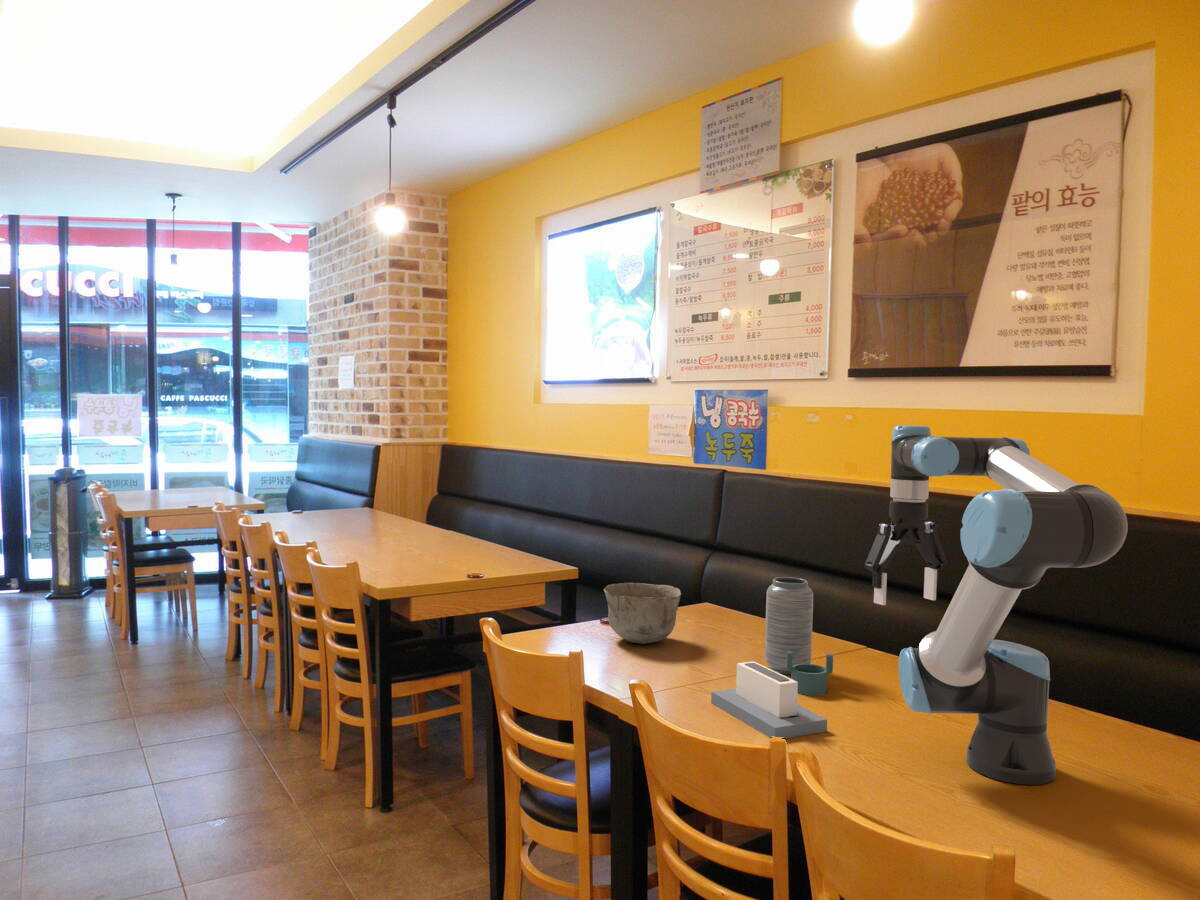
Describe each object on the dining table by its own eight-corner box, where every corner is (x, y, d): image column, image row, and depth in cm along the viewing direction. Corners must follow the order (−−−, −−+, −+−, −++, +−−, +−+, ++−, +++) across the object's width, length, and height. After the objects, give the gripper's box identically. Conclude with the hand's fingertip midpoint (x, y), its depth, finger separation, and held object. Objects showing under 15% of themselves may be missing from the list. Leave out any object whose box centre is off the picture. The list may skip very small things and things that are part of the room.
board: (826, 731, 181) (827, 719, 181) (774, 740, 176) (775, 727, 176) (759, 696, 203) (759, 685, 203) (711, 702, 198) (711, 691, 198)
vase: (795, 661, 232) (798, 575, 231) (819, 674, 221) (822, 583, 220) (756, 664, 228) (758, 576, 227) (778, 677, 217) (781, 585, 216)
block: (796, 724, 184) (797, 680, 183) (778, 727, 182) (780, 683, 181) (752, 700, 198) (753, 660, 198) (735, 703, 196) (736, 662, 196)
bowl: (607, 630, 261) (609, 579, 260) (681, 634, 258) (682, 583, 257) (597, 649, 239) (598, 595, 239) (677, 654, 236) (679, 599, 236)
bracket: (835, 692, 207) (836, 654, 207) (806, 697, 203) (807, 659, 202) (808, 682, 215) (809, 645, 215) (779, 687, 210) (781, 650, 210)
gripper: (940, 496, 191) (936, 593, 192) (848, 499, 180) (845, 602, 181) (967, 500, 184) (963, 600, 185) (874, 503, 174) (870, 609, 174)
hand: (905, 601), depth 183 cm, fingers open, 13 cm apart
